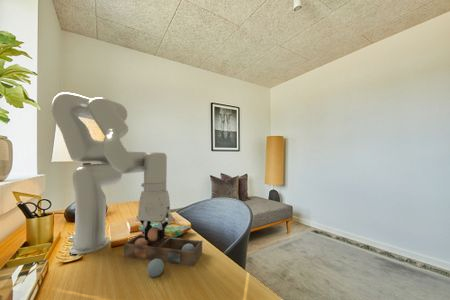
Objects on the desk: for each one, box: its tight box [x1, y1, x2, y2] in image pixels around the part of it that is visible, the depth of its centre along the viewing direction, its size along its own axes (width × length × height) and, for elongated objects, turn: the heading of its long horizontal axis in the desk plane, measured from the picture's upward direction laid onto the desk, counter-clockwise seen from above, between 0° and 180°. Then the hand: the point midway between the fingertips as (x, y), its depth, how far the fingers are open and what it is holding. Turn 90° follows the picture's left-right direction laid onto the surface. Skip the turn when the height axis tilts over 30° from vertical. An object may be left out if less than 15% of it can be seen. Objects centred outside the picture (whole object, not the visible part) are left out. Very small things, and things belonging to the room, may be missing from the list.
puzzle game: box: [138, 218, 192, 238], centre depth 80 cm, size 12×5×20 cm
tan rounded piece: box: [134, 238, 148, 246], centre depth 65 cm, size 5×5×5 cm
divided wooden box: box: [123, 233, 203, 268], centre depth 63 cm, size 25×8×5 cm, turn 78°
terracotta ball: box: [148, 227, 159, 241], centre depth 64 cm, size 5×5×5 cm
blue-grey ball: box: [182, 243, 195, 251], centre depth 61 cm, size 5×5×5 cm
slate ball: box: [146, 259, 165, 278], centre depth 53 cm, size 5×5×5 cm
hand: (154, 238), depth 64 cm, fingers closed on terracotta ball, 4 cm apart
